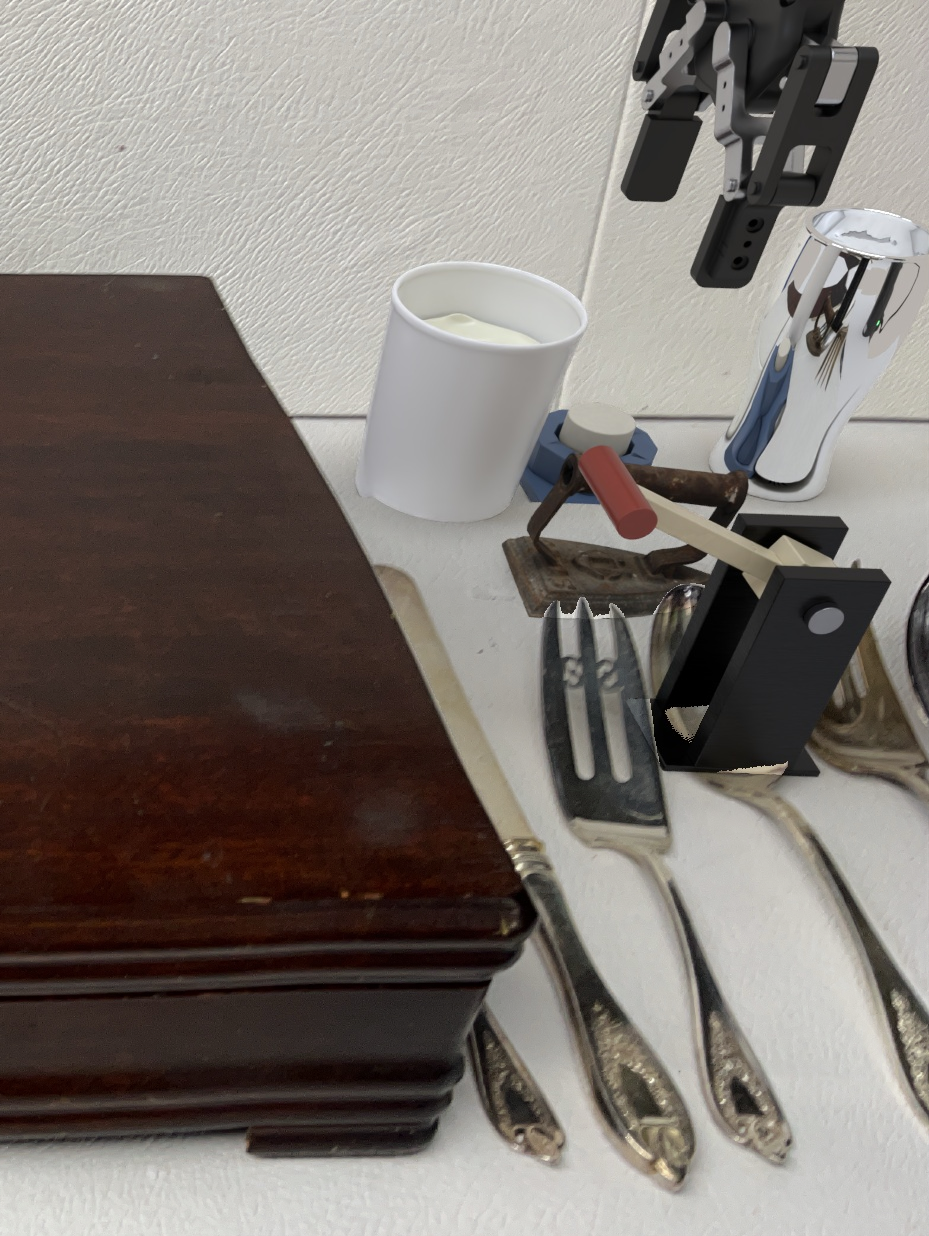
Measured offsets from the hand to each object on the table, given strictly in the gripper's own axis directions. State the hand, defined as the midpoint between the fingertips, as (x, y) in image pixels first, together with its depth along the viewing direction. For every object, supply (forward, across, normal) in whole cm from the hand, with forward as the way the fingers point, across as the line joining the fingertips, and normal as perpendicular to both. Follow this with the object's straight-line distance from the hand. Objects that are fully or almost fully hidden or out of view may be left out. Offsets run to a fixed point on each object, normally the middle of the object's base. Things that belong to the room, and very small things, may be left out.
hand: (679, 239), depth 76 cm
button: (+20, +17, -8) cm, 27 cm away
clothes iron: (+22, +4, -6) cm, 23 cm away
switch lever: (+11, -8, -2) cm, 14 cm away
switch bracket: (+22, -8, -6) cm, 24 cm away
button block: (+22, +17, -8) cm, 29 cm away
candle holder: (+22, +14, +1) cm, 26 cm away
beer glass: (+22, +18, -19) cm, 34 cm away
